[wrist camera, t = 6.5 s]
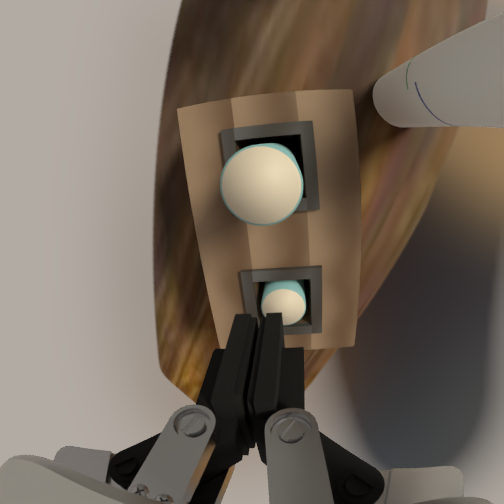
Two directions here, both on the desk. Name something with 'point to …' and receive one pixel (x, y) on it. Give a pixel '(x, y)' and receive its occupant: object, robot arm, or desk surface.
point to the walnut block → (293, 227)
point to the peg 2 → (285, 299)
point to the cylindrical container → (449, 82)
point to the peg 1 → (262, 184)
